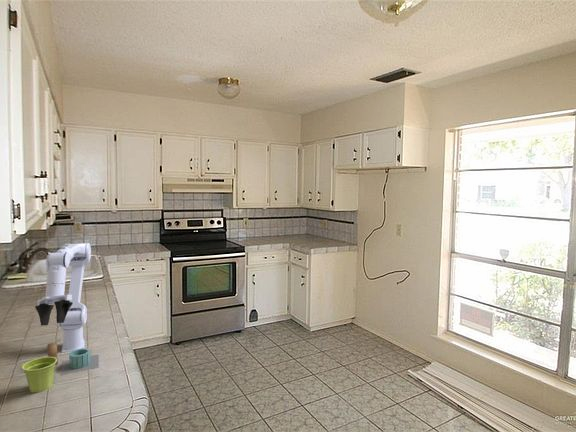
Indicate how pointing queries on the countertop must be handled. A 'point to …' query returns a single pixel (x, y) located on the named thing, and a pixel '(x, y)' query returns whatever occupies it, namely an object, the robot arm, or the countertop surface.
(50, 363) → the plant pot
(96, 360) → the grey mat
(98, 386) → the countertop surface
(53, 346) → the walnut peg
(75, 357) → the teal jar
